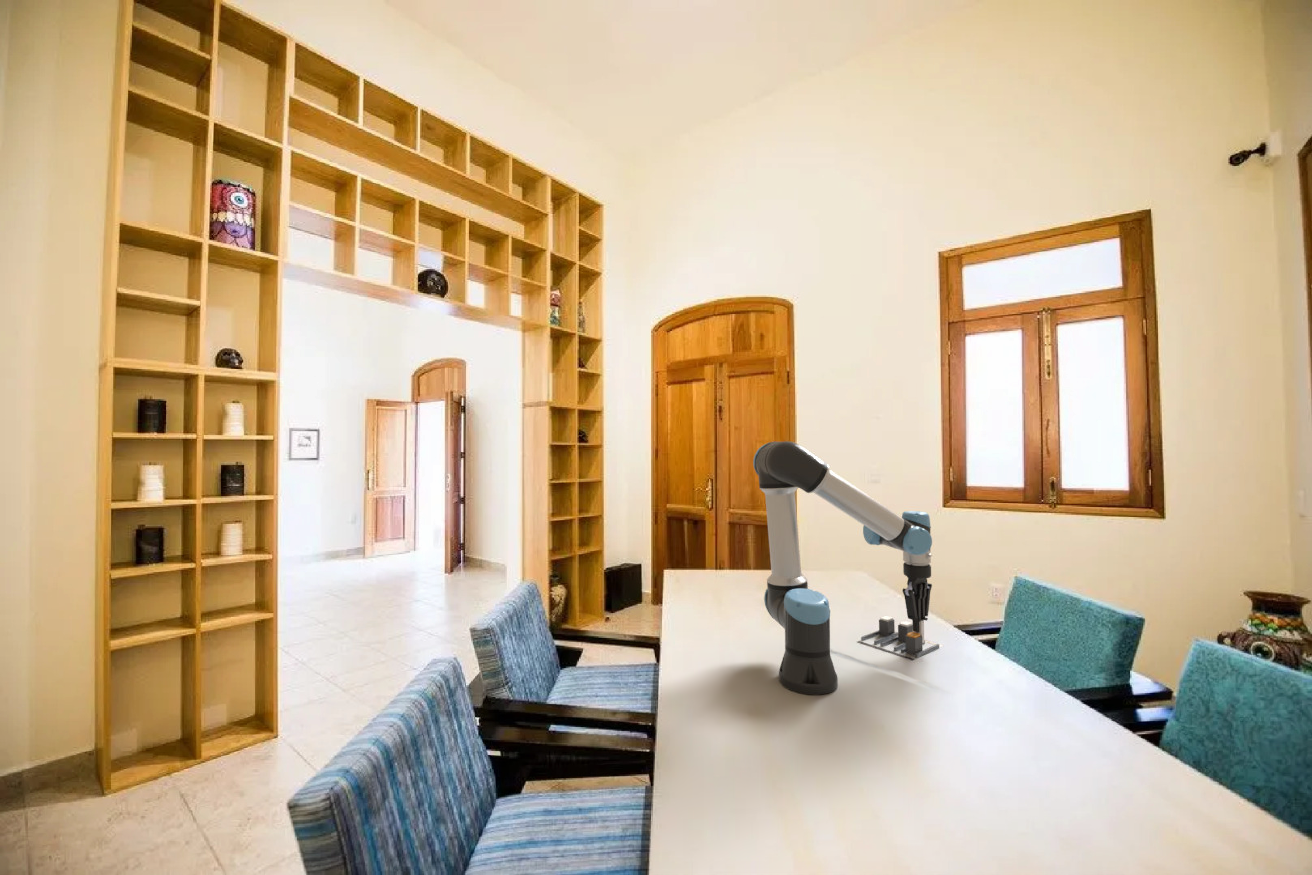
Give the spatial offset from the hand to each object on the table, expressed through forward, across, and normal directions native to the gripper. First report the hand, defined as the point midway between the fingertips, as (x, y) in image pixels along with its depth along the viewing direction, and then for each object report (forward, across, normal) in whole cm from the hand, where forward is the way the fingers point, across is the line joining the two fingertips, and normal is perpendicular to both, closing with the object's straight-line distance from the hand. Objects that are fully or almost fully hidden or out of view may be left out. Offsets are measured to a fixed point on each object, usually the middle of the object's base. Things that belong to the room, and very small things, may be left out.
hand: (918, 641), depth 158 cm
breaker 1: (+3, +5, +13) cm, 14 cm away
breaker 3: (+3, -3, 0) cm, 4 cm away
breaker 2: (+3, +5, +6) cm, 9 cm away
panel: (+4, +1, +6) cm, 8 cm away
